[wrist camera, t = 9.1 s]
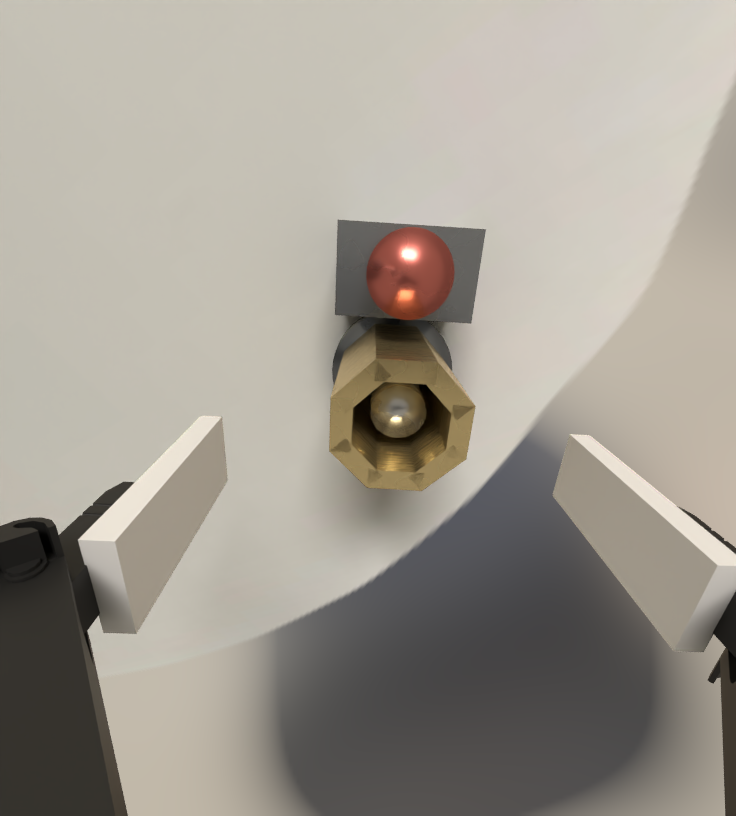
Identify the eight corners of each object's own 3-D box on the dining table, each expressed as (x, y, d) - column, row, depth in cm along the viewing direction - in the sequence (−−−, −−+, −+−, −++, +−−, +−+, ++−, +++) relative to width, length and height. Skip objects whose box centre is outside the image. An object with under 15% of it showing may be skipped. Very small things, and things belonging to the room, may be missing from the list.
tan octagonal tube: (342, 414, 27) (328, 485, 19) (345, 321, 25) (331, 355, 16) (433, 419, 27) (460, 493, 19) (445, 328, 25) (482, 365, 16)
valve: (332, 417, 28) (317, 476, 21) (337, 227, 24) (321, 214, 16) (440, 423, 29) (465, 485, 21) (467, 236, 24) (511, 227, 16)
